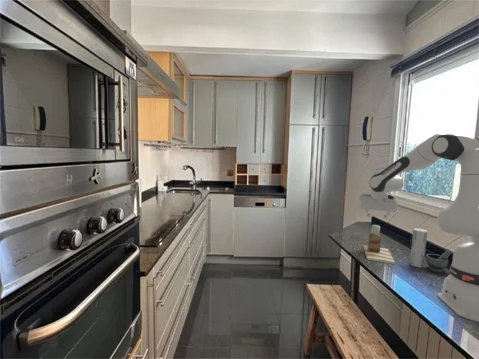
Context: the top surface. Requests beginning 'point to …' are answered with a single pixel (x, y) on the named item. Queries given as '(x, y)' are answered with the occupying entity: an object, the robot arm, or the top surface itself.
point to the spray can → (418, 247)
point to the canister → (375, 230)
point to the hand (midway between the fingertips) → (376, 217)
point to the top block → (374, 239)
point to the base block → (373, 247)
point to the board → (379, 255)
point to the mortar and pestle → (438, 261)
